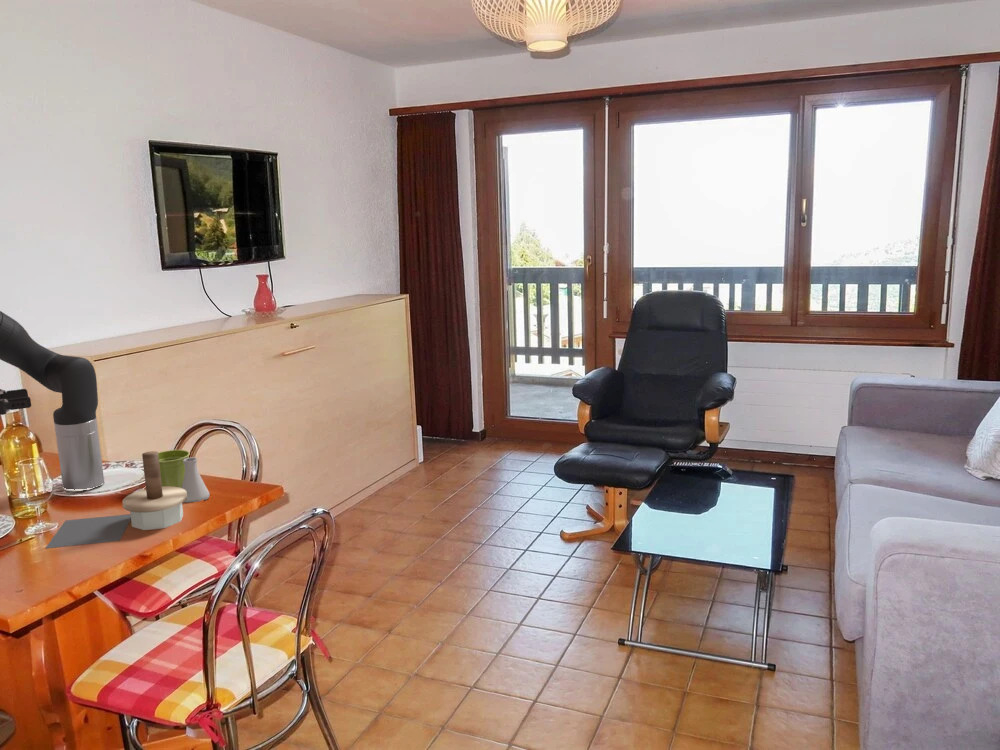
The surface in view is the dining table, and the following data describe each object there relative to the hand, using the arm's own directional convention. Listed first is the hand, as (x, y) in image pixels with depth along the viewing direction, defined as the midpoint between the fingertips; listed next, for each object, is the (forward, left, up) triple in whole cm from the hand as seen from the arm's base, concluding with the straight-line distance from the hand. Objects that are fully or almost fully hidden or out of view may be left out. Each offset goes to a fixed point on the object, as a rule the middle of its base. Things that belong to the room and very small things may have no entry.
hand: (29, 397), depth 162 cm
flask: (-12, +28, -30) cm, 43 cm away
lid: (+1, +22, -25) cm, 33 cm away
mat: (+3, +9, -30) cm, 31 cm away
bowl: (+1, +22, -30) cm, 37 cm away
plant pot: (-21, +22, -30) cm, 43 cm away
